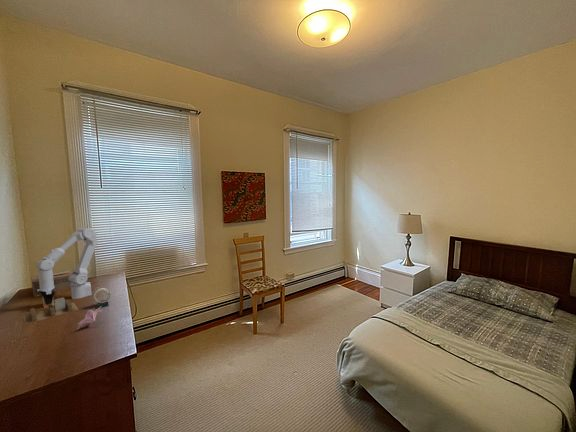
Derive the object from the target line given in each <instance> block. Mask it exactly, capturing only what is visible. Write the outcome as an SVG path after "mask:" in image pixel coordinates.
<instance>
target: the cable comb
mask: <svg viewBox="0 0 576 432" xmlns="http://www.w3.org/2000/svg"><path fill="white" fill-rule="evenodd" d="M65 306H66V310H63V311H60V312H55V309H54V306H53V305H52V303H51V304H48V307H47V308H46V309H43V310H39V311H36V308H35V307H32V308H29V311H30V313H28V314H27V313H26V314H24V315H22V316H23V322H24V325H28V324H32V323H36V322H38V321H39V322H40V321H42V320H46V319H50V318H53V317H57V316H60V315H64V314H67V313H71V312H75V311H78V310H79V308H78V307H77V305H76V304H75V302H70V300H69V299H65Z"/></svg>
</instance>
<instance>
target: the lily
mask: <svg viewBox="0 0 576 432" xmlns="http://www.w3.org/2000/svg"><path fill="white" fill-rule="evenodd" d="M101 307H102V306H101ZM101 307H97V308H96V309H95V310H92V309H89V310H87V312H86V313H85V316H84V318H83V319H82V320H81V321H80V322H78V323H77V325H78V326H77V328H76V331H78V330H79V329H81V328H82V327H83V326H84V325H86V324H87V323H88V324H92V323H93V322H94V323H96V325H97V326H98V327H99V328H100V325H99V324H98V322H97V321H96V318H97V317H96V316H97V315H98V314H100V313H101V312H102V311H103V309H102V308H101Z"/></svg>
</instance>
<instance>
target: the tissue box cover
mask: <svg viewBox="0 0 576 432" xmlns="http://www.w3.org/2000/svg"><path fill="white" fill-rule="evenodd" d="M73 270H74V269H71V270H70V269H69V270H66V271H61V272H53V280H54V286H55V288H54V290H53V291H55V293H57V292H56V291H59V292H62V291H61V290H64V291H66V290H65V289H68V290H70V289H69V288H71V282H70V281H69V279H68V278H69V276H70V275H71V274H72V272H73ZM31 286H32V294H33V297H34V296H37V295H41V293H40V291H37V289H40V285H39V275H38V276H32V277H31ZM41 296H42V295H41ZM37 297H38V296H37Z"/></svg>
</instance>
